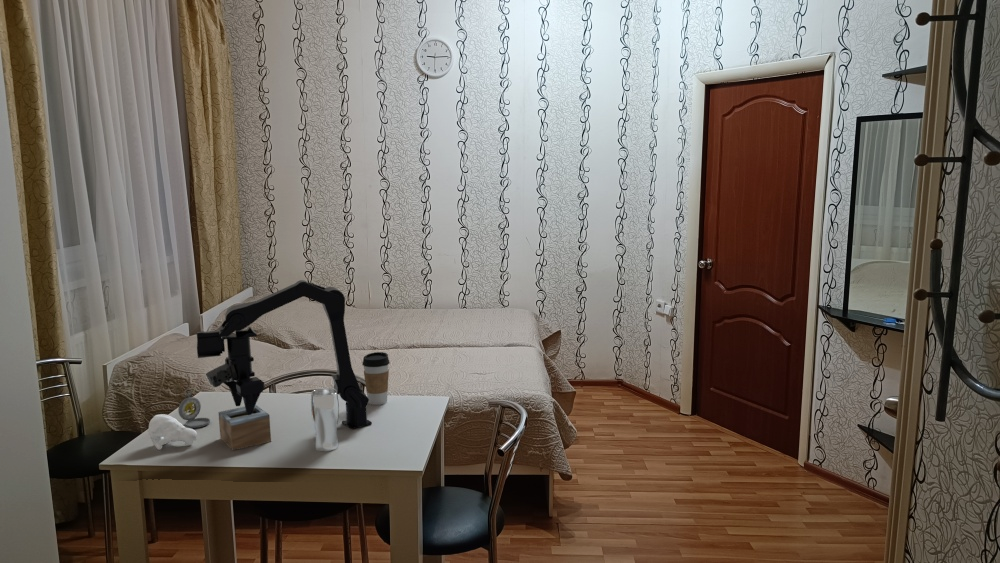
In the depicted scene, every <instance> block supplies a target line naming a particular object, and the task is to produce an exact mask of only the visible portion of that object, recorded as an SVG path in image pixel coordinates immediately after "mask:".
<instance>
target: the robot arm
mask: <svg viewBox="0 0 1000 563" xmlns="http://www.w3.org/2000/svg"><path fill="white" fill-rule="evenodd" d="M303 297H304V298H306V299H310V300H312V301H314V302H317V303H320V304H322V308H323V310H324V312H325V315H326V317H327V319H328V323H329V329H330V334H331V338H332V339H331V341H332V345H333V350H334V358H335V361H336V362H335V363H336V374H332V375H331V377H332V380H333V389H336V390H337V395H338V396H340V398H341V400H342V401H344V402H345V413H346V415H345V417H346V419H344V420H342V421H341V424H343V425H344V426H346V427H348V428H349V429H350V430H351V429H352V430H353V429H356V428H361V427H364V426H369V425H372V424H373V421H371V420H369V419H368V414H367V407H368V405H369V403H368V401H369V399H368V397H367V394H366V393H365V391H363V390H362V389H361V387H360V384H359V382H358V379H357V377H356V374H355V372H354V370H353V367H352V361H351V356H350V350H349V343H348V338H347V332H346V326H345V321H344V320H345V311H346V297H345V295H344V293H343V292H341V291H340V290H339V288H337V287H335V286H328V287H325V286H321V285H318V284H314V283H312V282H308V281H307V280H304V279H300V280H298V281H296V282H295V283H293V284H291V285H289V286H286V287H284V288H282V289H279V290H277V291H276V292H273V293H270V294H268V295H266V296H264V297H262V298H260V299H257V300H254V301H249V302H244V303H240V304H237V305H232V306H230V307H229V308H227V310H226V311H225V314H224V320H223V322H222V324H221V325H219V328H218V330H211V331H210V330H209V331H202V330H201V331H197V332H196V337H197V338H196V340H197V341H196V351H197V352H196V353H197V358H198V359H202V358H203V359H204V358H205V359H206V358H212V357H213V358H214V357H221V356H222V355H221V354H223V353H225V352H226V348H227V357H225V359H224V362H225V363H224V364H222V365H220V366H216V367H215V368H214V369H212V370H209V371H207V372H206V373H205V376H206V379H207V381H208V382H209V383H210V384H209V385H210V386H213V388H218V387H220V386H221V385H222V384H224V385H226V386H227V387H228V388H229V392H230V394H231V396H232V399H233V402H234V405H235V407H241V405H242V402H243V404H244V407H245V409H246V413H247V415H251V414H252V412H253V410H254V407H255V405H257V402H258V400H259V397H260V395H262V394H261V393H263V391H264V390H265V382H264V381H263V380H262V379H260V378H258V376H256V372H254V371H253V369H252V368H253V367H252V365H253V364H252V363H253V362H254V356H252V352H251V338H252V337H257V336H258V334H257V331H256V330H254V329H252V327H251V326H250V325H252V324H254V322H256V321H257V320H258V319H260V318H261V317H262V316H264V315H266V314H267V313H270V312H272V311H274V310H276V309H279V308H281V307H283V306H285V305H287V304H289V303H292V302H294V301H296V300H299V299H301V298H303ZM234 332H235V333H234ZM225 340H226V345H227V347H226V348H225Z"/></svg>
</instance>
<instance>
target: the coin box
mask: <svg viewBox="0 0 1000 563" xmlns="http://www.w3.org/2000/svg"><path fill="white" fill-rule="evenodd" d="M253 413H254V414H253ZM217 414H218V422H219V423H218V424H219V436H220V437H219V438H220V440H221V441H222V442H223V443H225V445H227V446H228V445H229V446H228V448H230V447H231V448H232V449H233V450H232V449H231V448H230V449H231V450H232V451H236V450H235V449H237V450H240V449H239V448H241V449H244V448H243V447H245V448H248V446H250V447H254V446H257V444H258V445H262V444H265V443H269V442H272V436H271V434H272V432H271V421H270V414H269V412H267V411H265V410H264V409H263V408H261V407H260V406H258V405H257V404H256V405H255V407H254V410H253V412H252V414H251V415H247V413H246V409H245V406H242V407H241V406H239V407H236V408H235V407H234V408H232V409H231V408H230V409H226V410H222V411H218V413H217ZM244 415H246V416H244ZM239 416H241V417H239ZM234 417H236V418H234ZM231 418H232V419H231ZM253 445H254V446H253Z"/></svg>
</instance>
